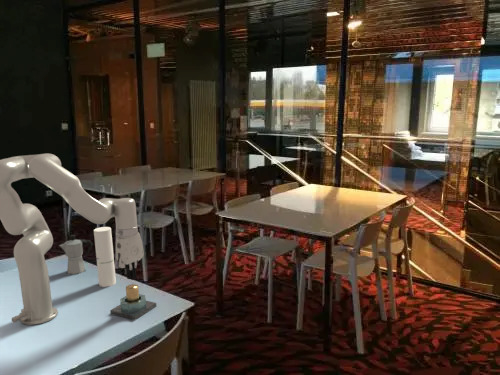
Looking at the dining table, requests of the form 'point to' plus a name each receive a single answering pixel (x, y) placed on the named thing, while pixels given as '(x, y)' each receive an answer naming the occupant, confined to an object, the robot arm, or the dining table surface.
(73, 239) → the coffee maker
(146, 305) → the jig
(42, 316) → the robot arm
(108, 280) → the cylindrical container
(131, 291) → the gold round-topped cylinder
